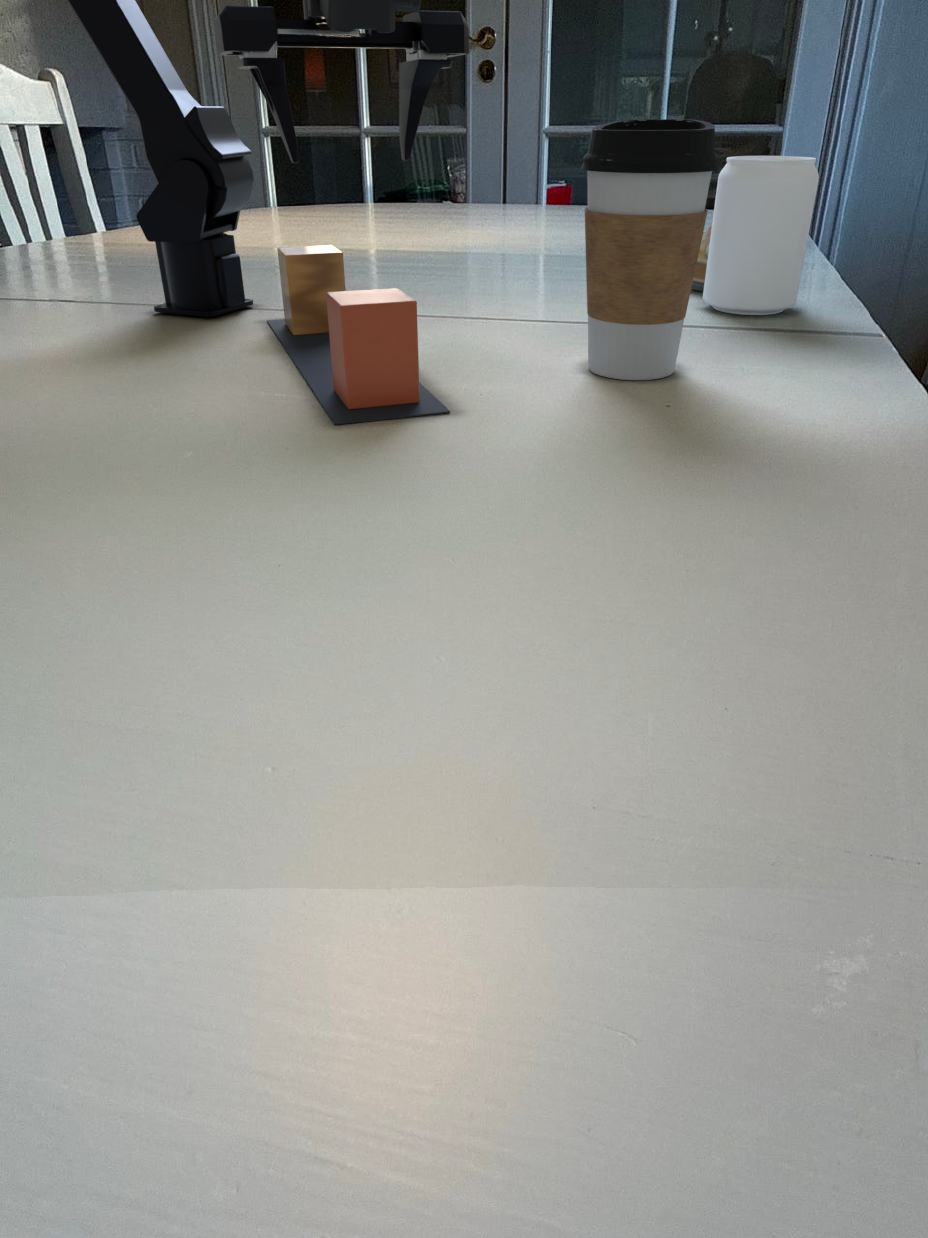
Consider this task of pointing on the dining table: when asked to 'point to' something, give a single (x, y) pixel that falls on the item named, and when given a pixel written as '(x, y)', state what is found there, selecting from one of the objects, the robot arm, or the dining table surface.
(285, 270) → the wood block
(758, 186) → the beverage can
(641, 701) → the dining table surface
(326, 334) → the line strip
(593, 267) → the coffee cup
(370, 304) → the terracotta block
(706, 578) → the dining table surface
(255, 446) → the dining table surface
